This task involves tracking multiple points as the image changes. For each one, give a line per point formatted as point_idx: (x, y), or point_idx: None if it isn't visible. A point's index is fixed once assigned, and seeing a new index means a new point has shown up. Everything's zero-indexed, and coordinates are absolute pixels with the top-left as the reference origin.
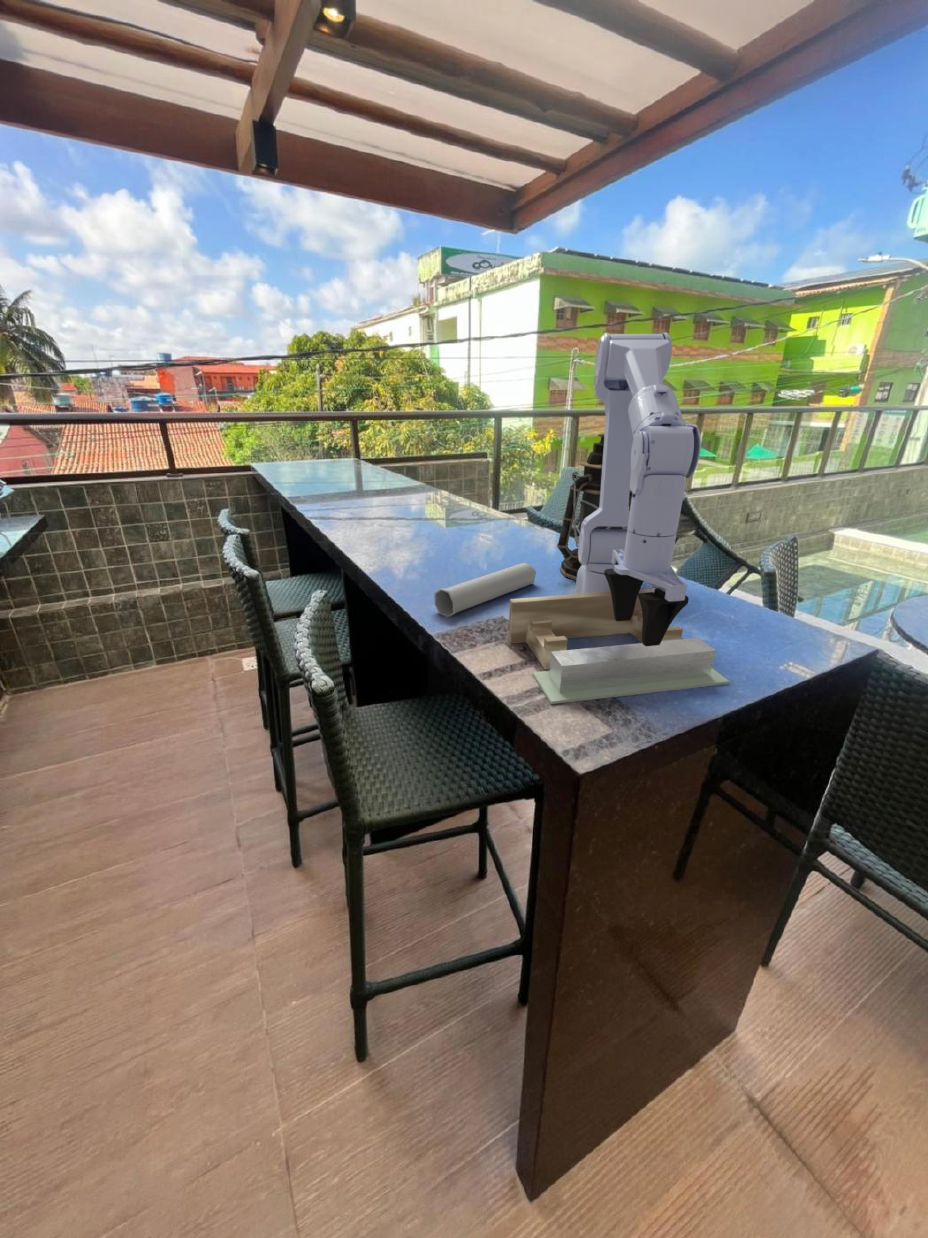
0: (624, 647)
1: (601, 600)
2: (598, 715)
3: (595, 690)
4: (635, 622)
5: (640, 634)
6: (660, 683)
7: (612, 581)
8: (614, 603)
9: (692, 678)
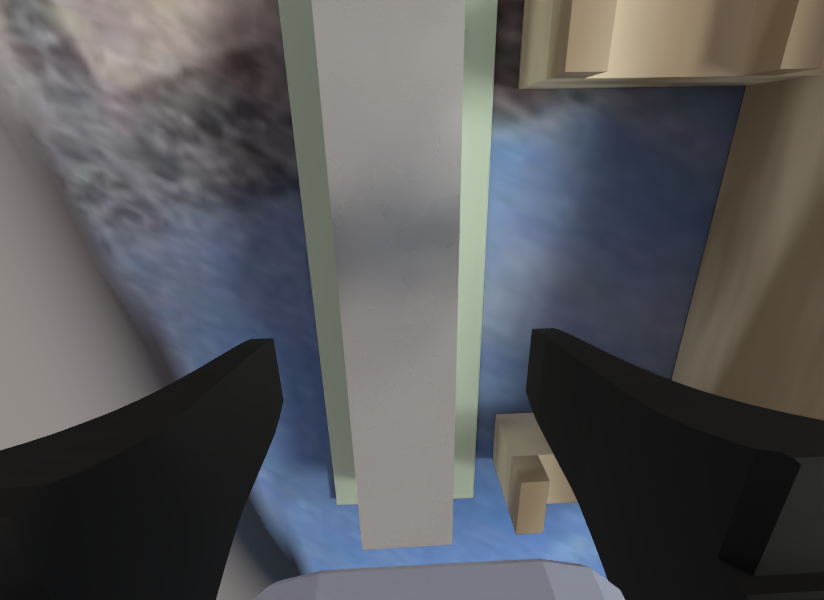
0: (435, 302)
1: (818, 374)
2: (196, 83)
3: None
4: None
5: None
6: None
7: (703, 436)
8: (589, 359)
9: None
